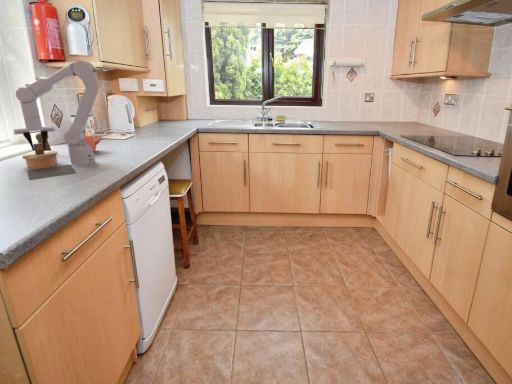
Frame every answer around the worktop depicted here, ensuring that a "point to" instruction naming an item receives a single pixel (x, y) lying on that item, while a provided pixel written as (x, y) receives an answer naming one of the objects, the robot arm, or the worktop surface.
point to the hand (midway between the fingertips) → (39, 149)
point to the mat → (50, 172)
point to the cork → (39, 138)
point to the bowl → (41, 162)
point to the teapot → (92, 141)
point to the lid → (39, 153)
